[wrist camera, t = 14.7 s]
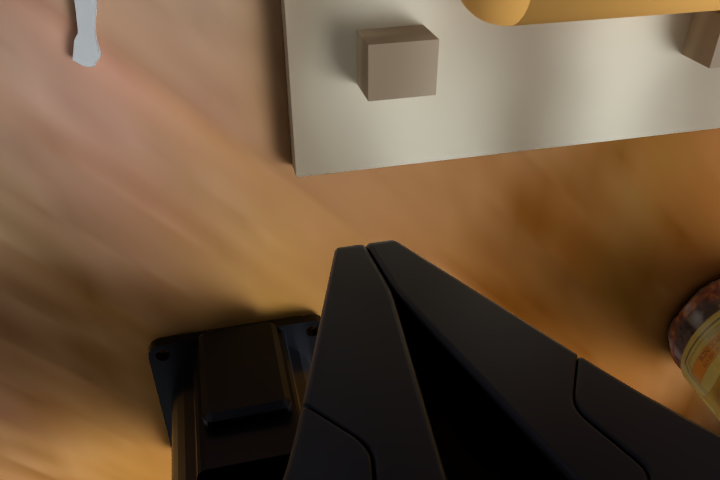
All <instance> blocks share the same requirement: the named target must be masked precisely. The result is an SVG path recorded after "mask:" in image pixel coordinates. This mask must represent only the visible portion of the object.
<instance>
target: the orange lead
mask: <svg viewBox="0 0 720 480" xmlns="http://www.w3.org/2000/svg"><path fill="white" fill-rule="evenodd" d="M461 1H462V3H463V4H464V6H465V7H466V9H467V10H469V11H470V12H471V13H472V14H473V15H474V16H475V17H477V18H479V19H480V20H482V21H484V22H487V23H491V24H494V25H498V26H518V25H531V24H544V23H558V22H571V21H584V20H598V19H611V18H624V17H637V16H651V15H664V14H677V13H691V12H704V11H717V10H720V0H461Z"/></svg>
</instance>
